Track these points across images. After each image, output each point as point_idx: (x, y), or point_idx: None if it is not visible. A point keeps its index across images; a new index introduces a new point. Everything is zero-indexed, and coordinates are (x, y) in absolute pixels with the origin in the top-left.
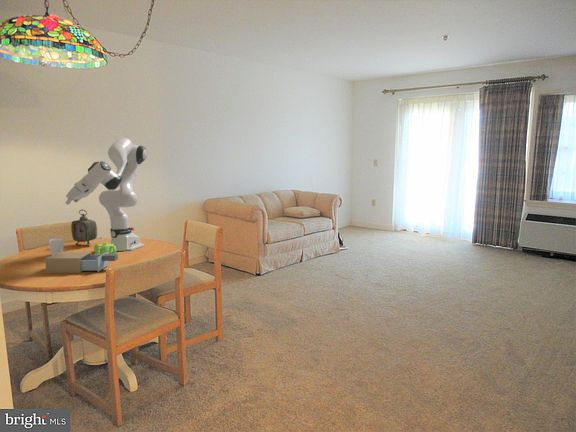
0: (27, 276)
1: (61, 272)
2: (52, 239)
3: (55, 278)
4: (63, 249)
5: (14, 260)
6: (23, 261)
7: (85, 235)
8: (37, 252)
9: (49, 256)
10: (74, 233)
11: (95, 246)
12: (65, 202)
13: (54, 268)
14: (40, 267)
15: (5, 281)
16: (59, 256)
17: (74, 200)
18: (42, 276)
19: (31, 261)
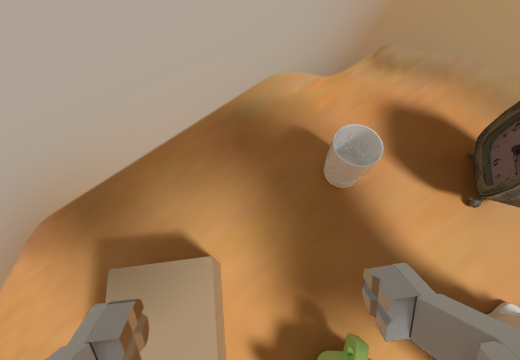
0: (102, 239)
1: None
2: (362, 127)
3: None
4: (357, 180)
5: (265, 100)
6: (258, 127)
7: (498, 184)
8: (354, 101)
9: (138, 266)
10: (499, 128)
11: (353, 347)
12: (93, 306)
13: None
14: (198, 213)
15: (60, 211)
16: None
17: (369, 282)
18: (95, 287)
19: (260, 146)
